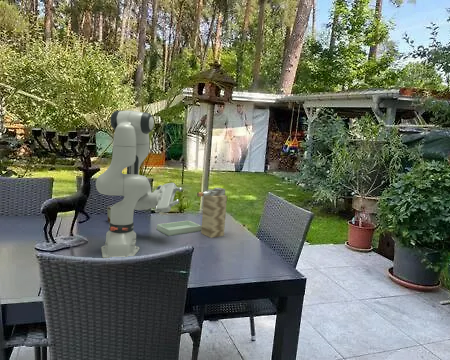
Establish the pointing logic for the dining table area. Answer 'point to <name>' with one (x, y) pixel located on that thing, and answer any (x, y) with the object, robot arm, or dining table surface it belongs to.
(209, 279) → the dining table surface
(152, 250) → the dining table surface
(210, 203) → the pin post
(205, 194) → the stop pin
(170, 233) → the pin tray
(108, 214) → the food container
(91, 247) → the dining table surface
